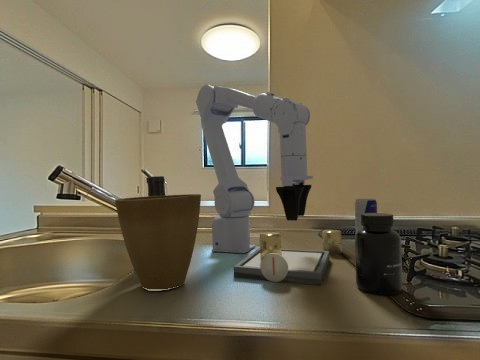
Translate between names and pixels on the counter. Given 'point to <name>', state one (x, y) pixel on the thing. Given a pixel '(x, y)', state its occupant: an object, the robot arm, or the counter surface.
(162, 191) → the sauce bottle
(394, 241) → the supplement bottle
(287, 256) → the pan
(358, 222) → the energy drink
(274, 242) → the cylinder
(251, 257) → the scale
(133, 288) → the counter surface
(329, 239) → the cylinder
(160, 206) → the plant pot
